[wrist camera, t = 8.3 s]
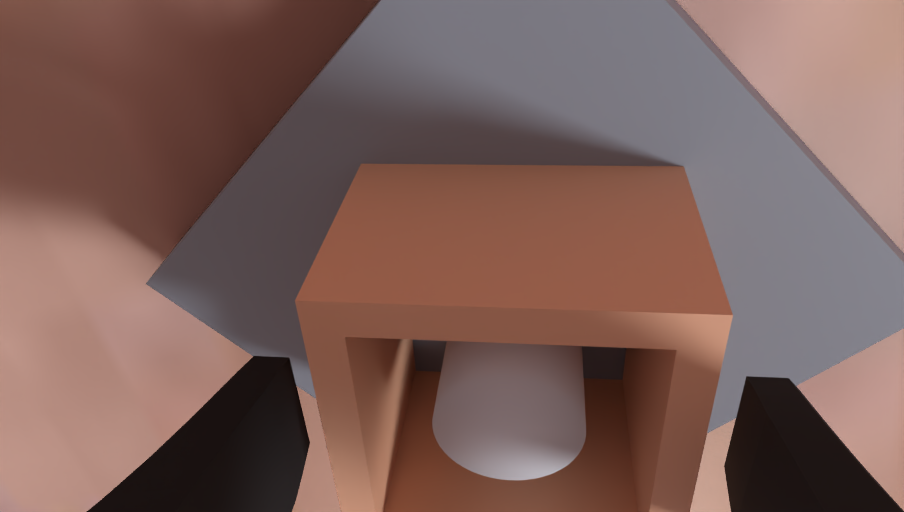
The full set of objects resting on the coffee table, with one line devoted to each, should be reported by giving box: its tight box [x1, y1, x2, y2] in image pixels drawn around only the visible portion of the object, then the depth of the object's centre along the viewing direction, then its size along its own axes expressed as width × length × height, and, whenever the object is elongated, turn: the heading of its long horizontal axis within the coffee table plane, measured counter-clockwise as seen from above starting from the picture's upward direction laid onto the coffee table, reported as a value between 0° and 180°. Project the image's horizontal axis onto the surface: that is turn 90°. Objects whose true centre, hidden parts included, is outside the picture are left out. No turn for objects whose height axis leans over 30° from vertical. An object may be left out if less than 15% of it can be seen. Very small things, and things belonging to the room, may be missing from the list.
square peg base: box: [146, 0, 904, 480], centre depth 13 cm, size 11×11×5 cm
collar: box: [295, 164, 733, 512], centre depth 12 cm, size 6×6×4 cm
